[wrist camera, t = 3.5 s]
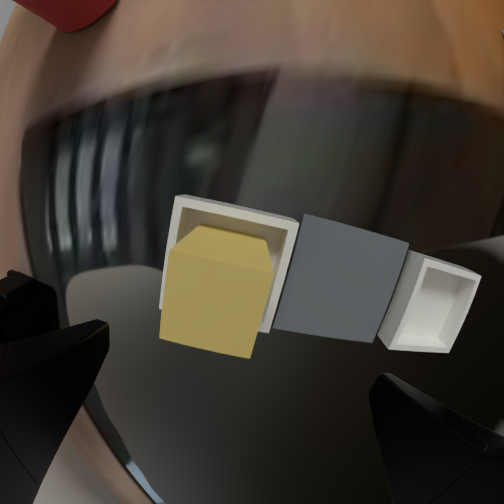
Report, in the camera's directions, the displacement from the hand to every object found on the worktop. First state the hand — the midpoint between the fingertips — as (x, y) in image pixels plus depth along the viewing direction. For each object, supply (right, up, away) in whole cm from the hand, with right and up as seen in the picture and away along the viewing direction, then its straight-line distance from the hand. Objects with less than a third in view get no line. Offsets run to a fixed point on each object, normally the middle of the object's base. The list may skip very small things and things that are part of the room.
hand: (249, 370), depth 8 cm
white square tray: (+14, 0, +11) cm, 18 cm away
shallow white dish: (-2, +3, +10) cm, 11 cm away
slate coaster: (+6, +1, +11) cm, 12 cm away
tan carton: (-2, +3, +10) cm, 10 cm away
